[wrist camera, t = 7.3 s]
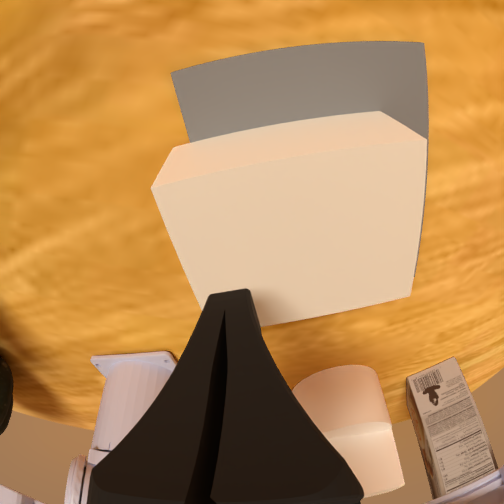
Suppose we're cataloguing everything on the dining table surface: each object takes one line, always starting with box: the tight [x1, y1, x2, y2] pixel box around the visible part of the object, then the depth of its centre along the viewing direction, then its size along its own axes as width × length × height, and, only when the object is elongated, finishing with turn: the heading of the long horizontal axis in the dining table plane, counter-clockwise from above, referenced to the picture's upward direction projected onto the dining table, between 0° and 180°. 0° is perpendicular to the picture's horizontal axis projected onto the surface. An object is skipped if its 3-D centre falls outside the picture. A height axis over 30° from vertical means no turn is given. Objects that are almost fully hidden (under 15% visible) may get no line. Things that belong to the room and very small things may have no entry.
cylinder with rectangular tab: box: [292, 365, 405, 498], centre depth 25 cm, size 9×9×12 cm
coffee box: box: [406, 357, 498, 500], centre depth 25 cm, size 9×6×16 cm
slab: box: [151, 111, 427, 327], centre depth 14 cm, size 8×4×10 cm
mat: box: [171, 41, 429, 277], centre depth 16 cm, size 15×12×1 cm
